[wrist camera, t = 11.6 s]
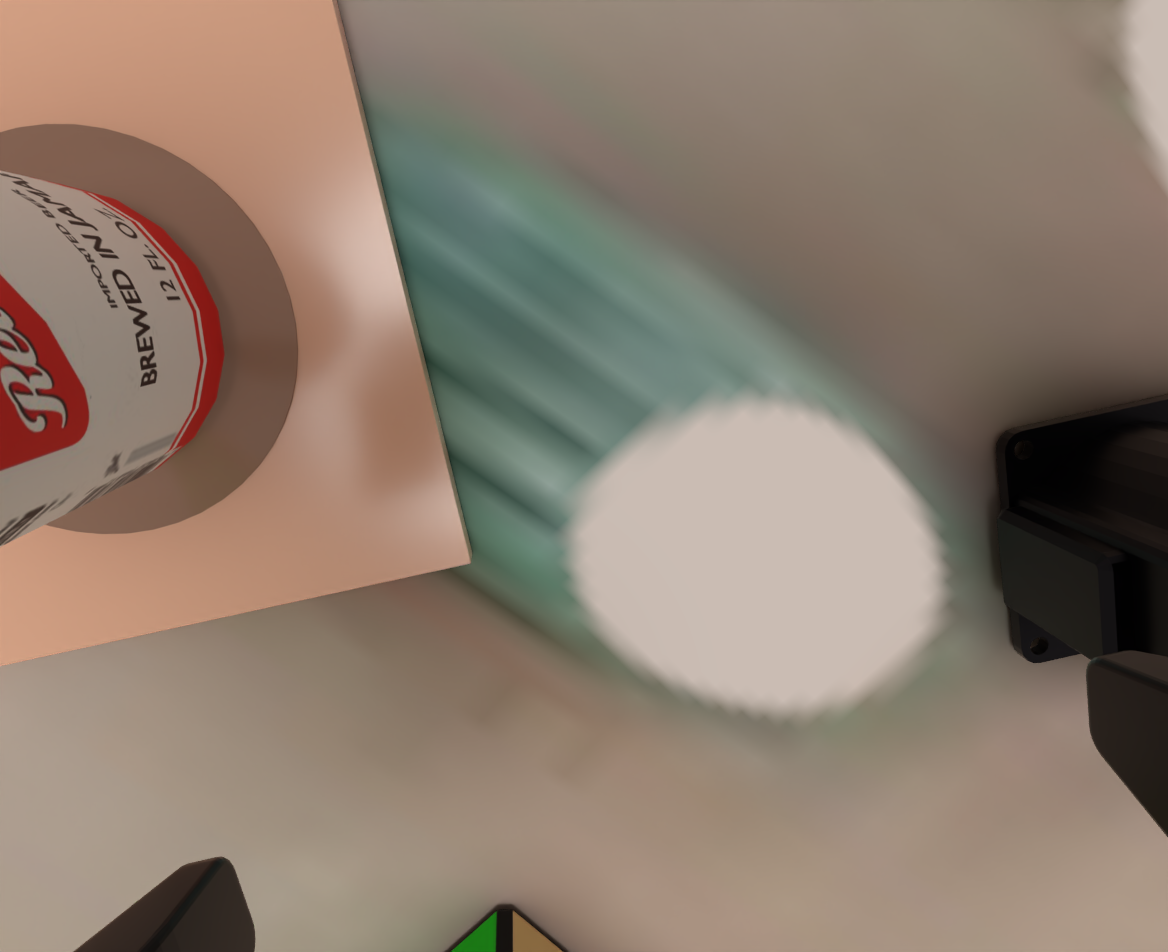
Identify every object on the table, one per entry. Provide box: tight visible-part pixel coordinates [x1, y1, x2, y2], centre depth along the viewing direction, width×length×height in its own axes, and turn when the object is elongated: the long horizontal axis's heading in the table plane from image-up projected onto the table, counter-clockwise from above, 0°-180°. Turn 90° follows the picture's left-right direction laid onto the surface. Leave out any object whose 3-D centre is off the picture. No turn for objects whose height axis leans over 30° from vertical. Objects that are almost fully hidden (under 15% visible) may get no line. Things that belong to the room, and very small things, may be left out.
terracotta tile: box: [0, 0, 472, 666], centre depth 19 cm, size 14×14×1 cm
